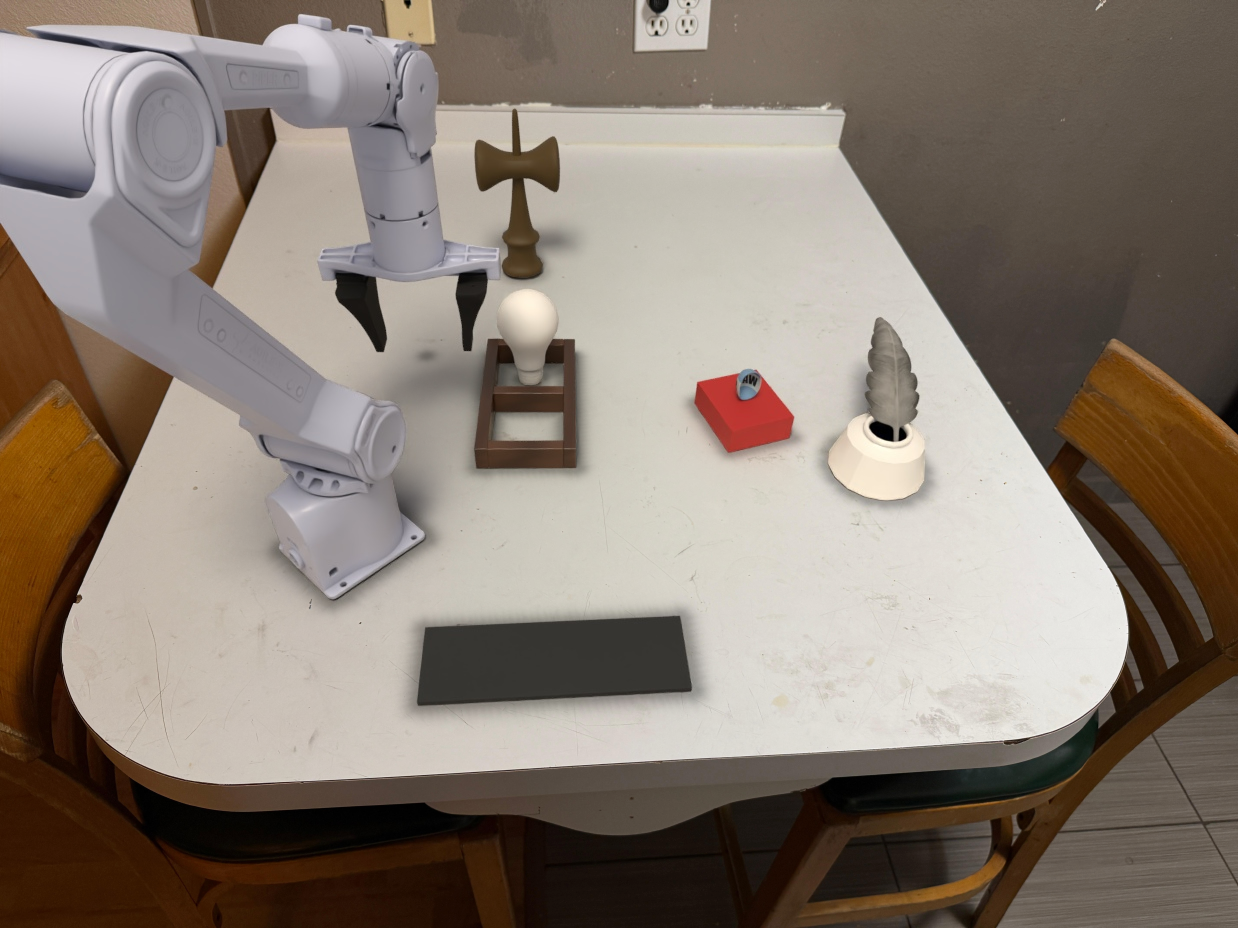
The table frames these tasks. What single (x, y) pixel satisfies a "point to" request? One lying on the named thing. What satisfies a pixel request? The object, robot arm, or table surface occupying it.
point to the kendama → (519, 193)
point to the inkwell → (883, 427)
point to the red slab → (743, 410)
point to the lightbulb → (528, 331)
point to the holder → (526, 401)
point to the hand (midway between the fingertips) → (425, 345)
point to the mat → (552, 660)
